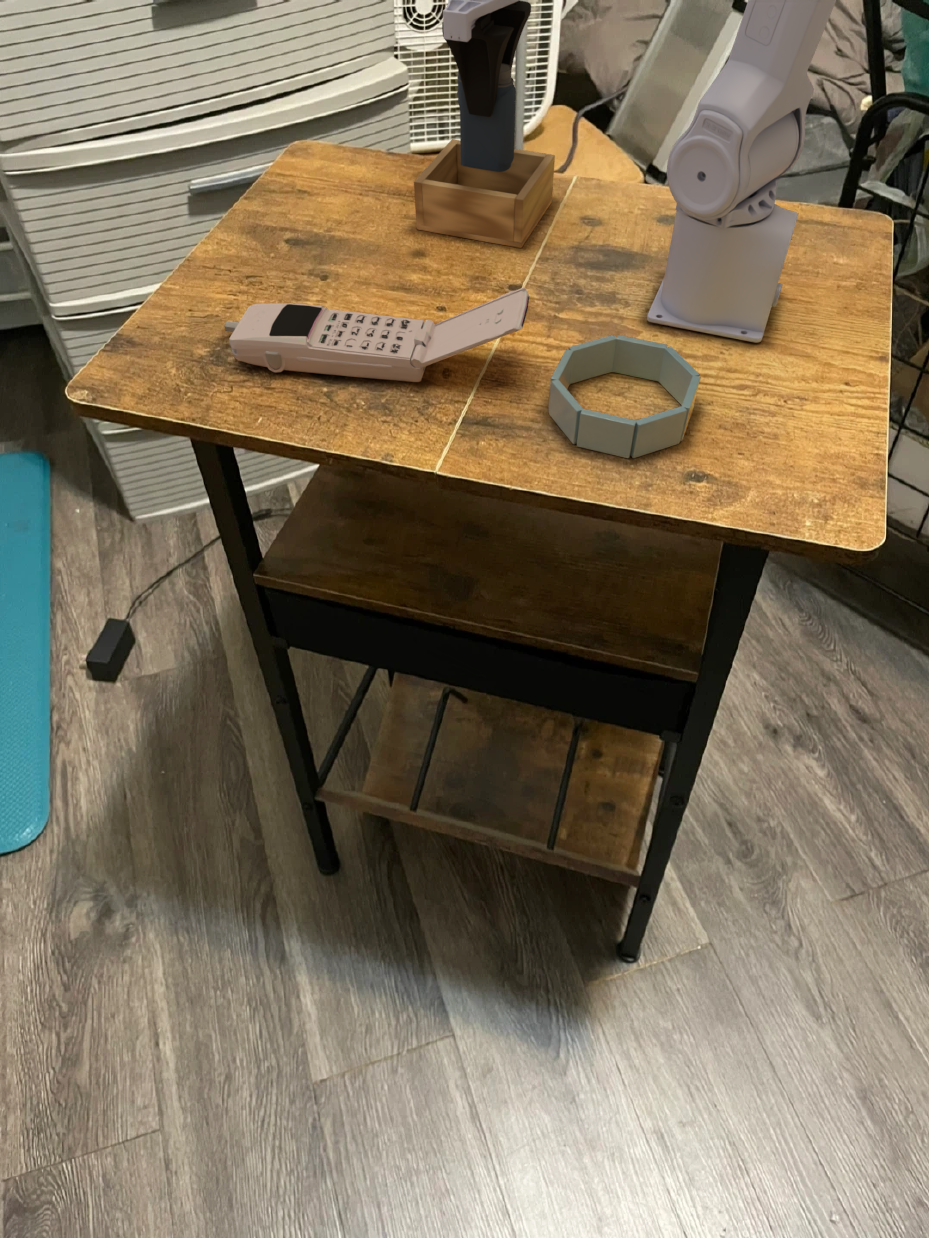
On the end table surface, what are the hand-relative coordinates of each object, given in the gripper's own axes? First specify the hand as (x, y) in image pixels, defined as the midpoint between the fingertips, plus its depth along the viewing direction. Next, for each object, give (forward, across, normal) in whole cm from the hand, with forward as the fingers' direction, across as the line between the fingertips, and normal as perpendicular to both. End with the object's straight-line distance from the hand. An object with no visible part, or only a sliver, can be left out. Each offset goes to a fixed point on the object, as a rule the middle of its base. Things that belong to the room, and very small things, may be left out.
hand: (486, 107), depth 76 cm
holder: (+10, 0, 0) cm, 10 cm away
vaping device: (+5, 0, 0) cm, 5 cm away
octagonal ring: (+10, +25, +20) cm, 33 cm away
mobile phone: (+10, +26, -1) cm, 27 cm away
